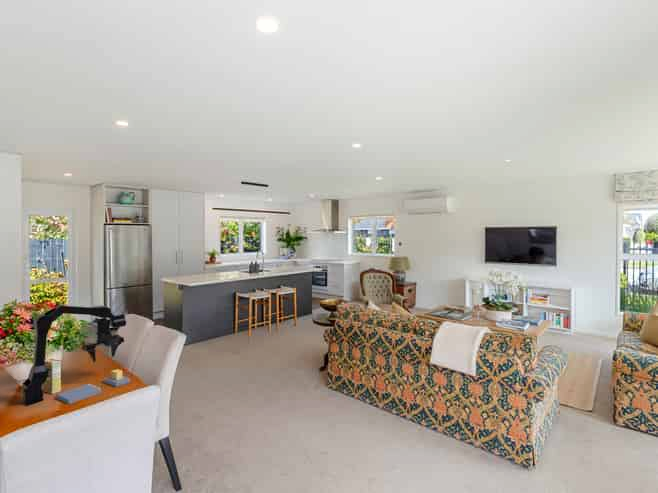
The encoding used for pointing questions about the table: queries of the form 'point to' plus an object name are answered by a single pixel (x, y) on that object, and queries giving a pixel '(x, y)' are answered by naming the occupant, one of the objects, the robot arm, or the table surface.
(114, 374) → the stub
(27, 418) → the table surface
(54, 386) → the candy box
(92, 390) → the blue-grey flat slab
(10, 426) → the table surface
